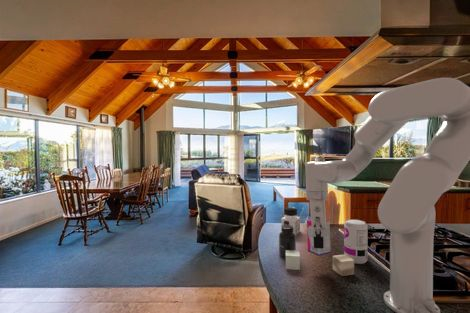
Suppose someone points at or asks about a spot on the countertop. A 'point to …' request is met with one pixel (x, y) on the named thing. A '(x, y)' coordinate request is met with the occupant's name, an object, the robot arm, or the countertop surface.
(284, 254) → the supplement bottle
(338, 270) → the birch block
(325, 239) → the supplement box
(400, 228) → the robot arm
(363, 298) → the countertop surface
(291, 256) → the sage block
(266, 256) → the countertop surface
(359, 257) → the supplement can
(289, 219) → the container
